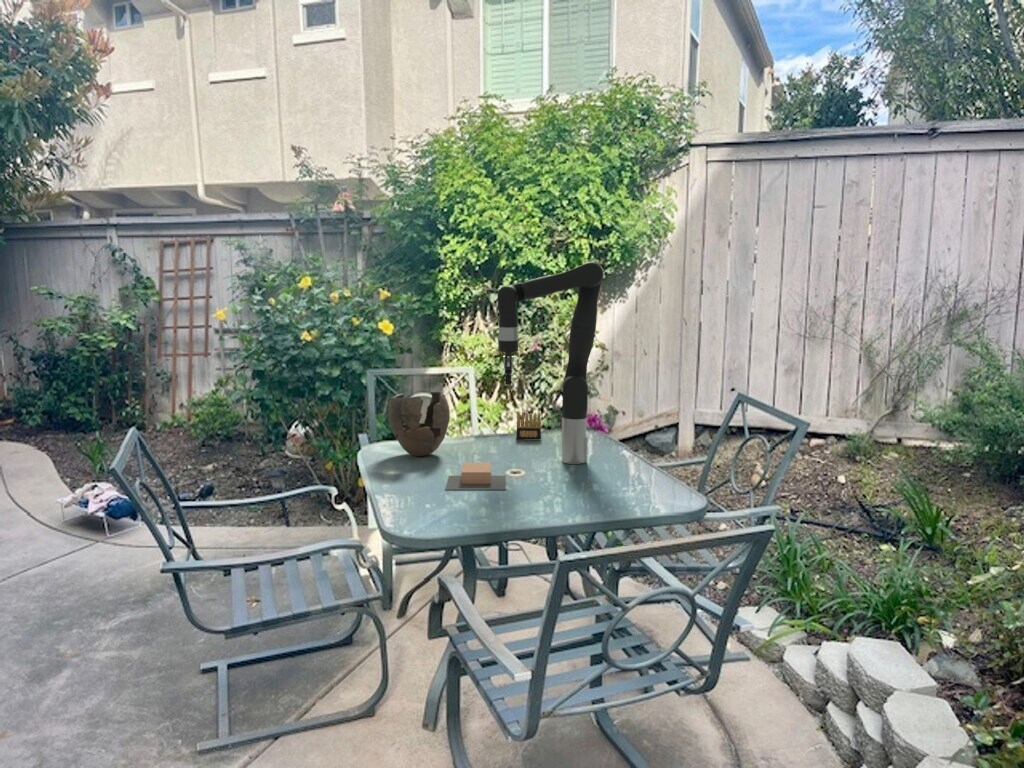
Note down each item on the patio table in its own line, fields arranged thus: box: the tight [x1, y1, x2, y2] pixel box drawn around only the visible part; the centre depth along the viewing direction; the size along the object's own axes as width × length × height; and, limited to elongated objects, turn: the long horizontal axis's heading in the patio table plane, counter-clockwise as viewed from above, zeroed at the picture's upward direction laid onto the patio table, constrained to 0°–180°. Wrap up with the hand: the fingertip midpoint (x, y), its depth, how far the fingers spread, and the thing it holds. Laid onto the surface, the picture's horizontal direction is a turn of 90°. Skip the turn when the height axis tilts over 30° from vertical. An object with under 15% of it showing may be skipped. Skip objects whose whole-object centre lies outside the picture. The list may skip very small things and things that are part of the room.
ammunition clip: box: [515, 411, 542, 441], centre depth 304 cm, size 11×2×12 cm, turn 87°
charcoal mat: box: [444, 475, 507, 491], centre depth 242 cm, size 20×16×1 cm
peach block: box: [460, 462, 493, 484], centre depth 245 cm, size 10×4×12 cm
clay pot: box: [387, 391, 451, 457], centre depth 277 cm, size 24×24×25 cm
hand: (508, 384), depth 270 cm, fingers closed
